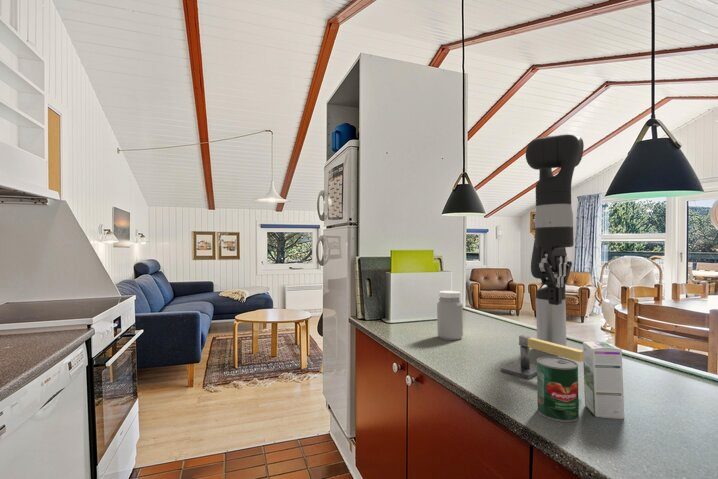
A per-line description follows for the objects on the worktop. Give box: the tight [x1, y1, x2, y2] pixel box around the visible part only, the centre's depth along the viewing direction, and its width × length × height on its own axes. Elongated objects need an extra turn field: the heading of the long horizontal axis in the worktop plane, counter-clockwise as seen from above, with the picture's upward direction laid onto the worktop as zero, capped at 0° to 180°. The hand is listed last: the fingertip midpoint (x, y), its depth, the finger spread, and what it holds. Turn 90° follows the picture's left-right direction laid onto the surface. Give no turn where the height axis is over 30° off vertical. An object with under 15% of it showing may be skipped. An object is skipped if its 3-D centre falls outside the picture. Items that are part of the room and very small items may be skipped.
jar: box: [436, 290, 464, 341], centre depth 146 cm, size 10×10×18 cm
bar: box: [518, 335, 583, 363], centre depth 100 cm, size 18×3×2 cm, turn 26°
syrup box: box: [582, 341, 625, 420], centre depth 80 cm, size 6×6×14 cm
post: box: [500, 345, 537, 380], centre depth 106 cm, size 10×8×7 cm
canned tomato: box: [536, 356, 580, 423], centre depth 79 cm, size 8×8×11 cm
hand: (555, 304), depth 82 cm, fingers closed
